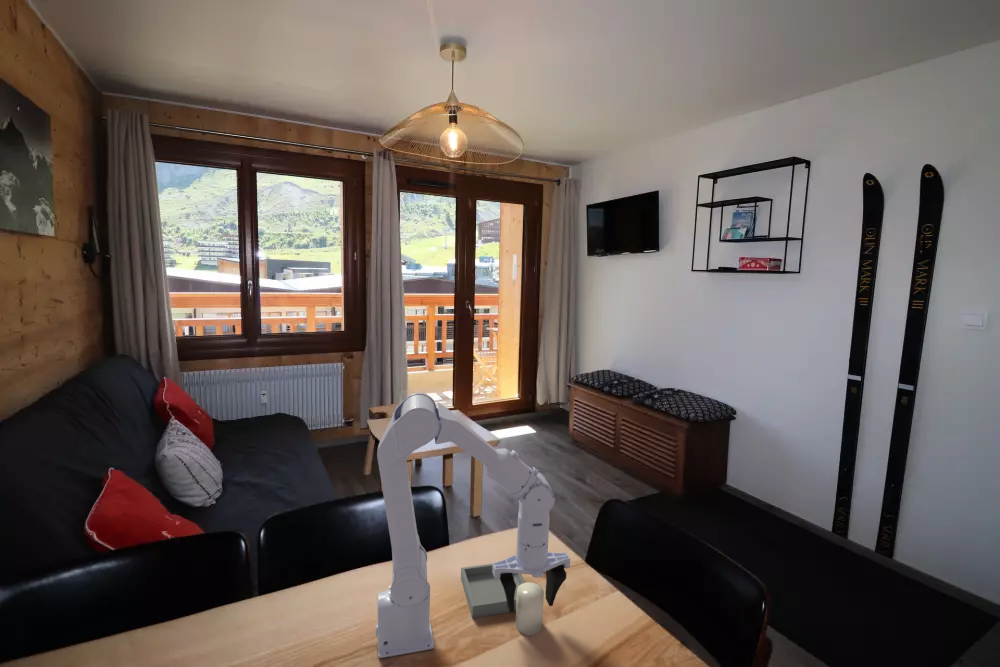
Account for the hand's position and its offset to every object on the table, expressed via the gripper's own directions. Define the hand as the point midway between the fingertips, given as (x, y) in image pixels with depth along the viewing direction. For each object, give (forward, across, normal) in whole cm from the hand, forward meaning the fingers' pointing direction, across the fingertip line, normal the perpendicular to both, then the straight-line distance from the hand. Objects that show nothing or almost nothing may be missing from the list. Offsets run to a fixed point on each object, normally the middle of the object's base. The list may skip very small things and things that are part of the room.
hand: (530, 605), depth 91 cm
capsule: (+4, 0, 0) cm, 4 cm away
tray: (+4, -4, +10) cm, 12 cm away
